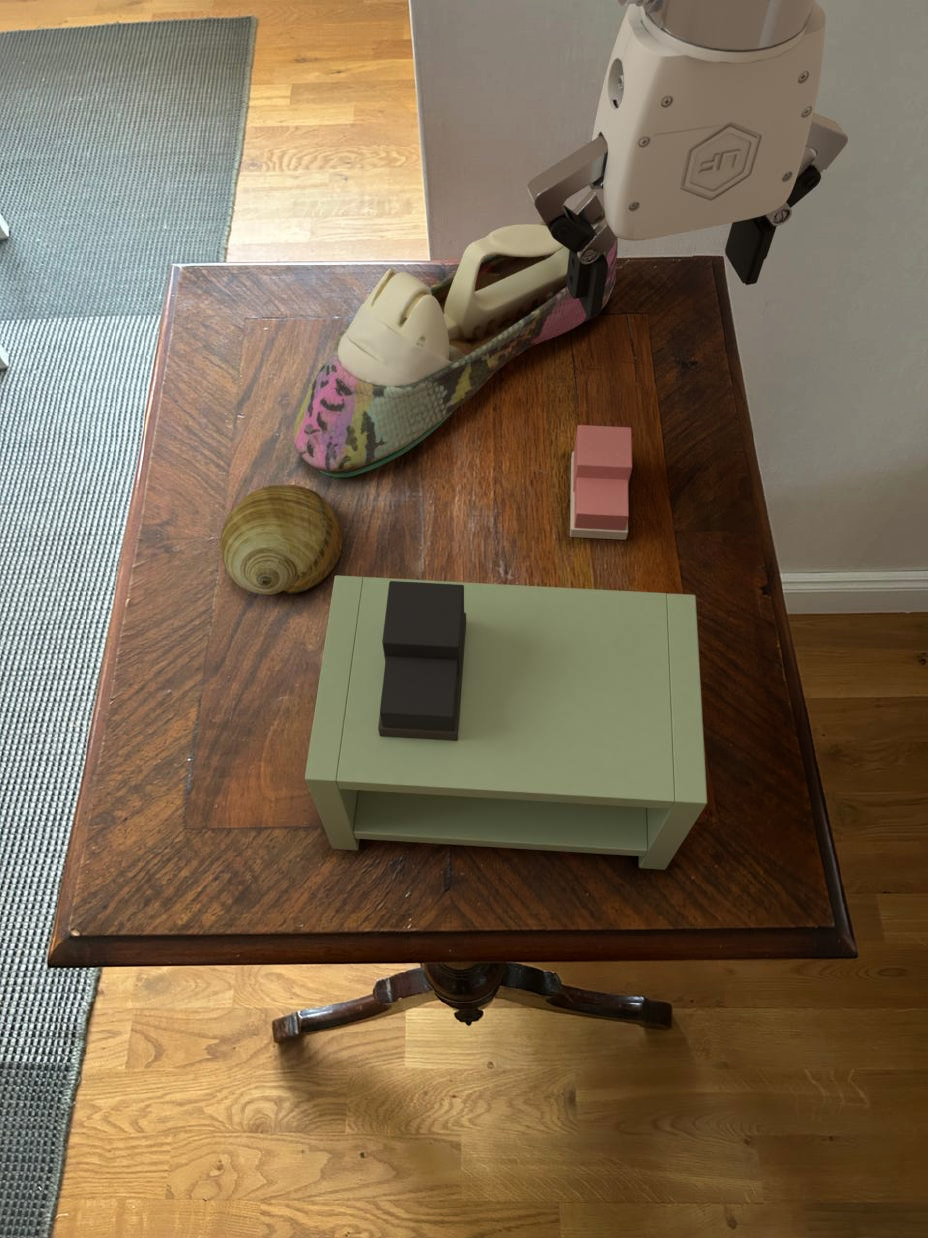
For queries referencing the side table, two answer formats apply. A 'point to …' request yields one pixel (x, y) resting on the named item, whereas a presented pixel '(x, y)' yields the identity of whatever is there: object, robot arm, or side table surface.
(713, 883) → the side table surface
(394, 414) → the ballet flat
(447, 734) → the black stepped block
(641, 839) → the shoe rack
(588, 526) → the pink stepped block
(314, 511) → the seashell
